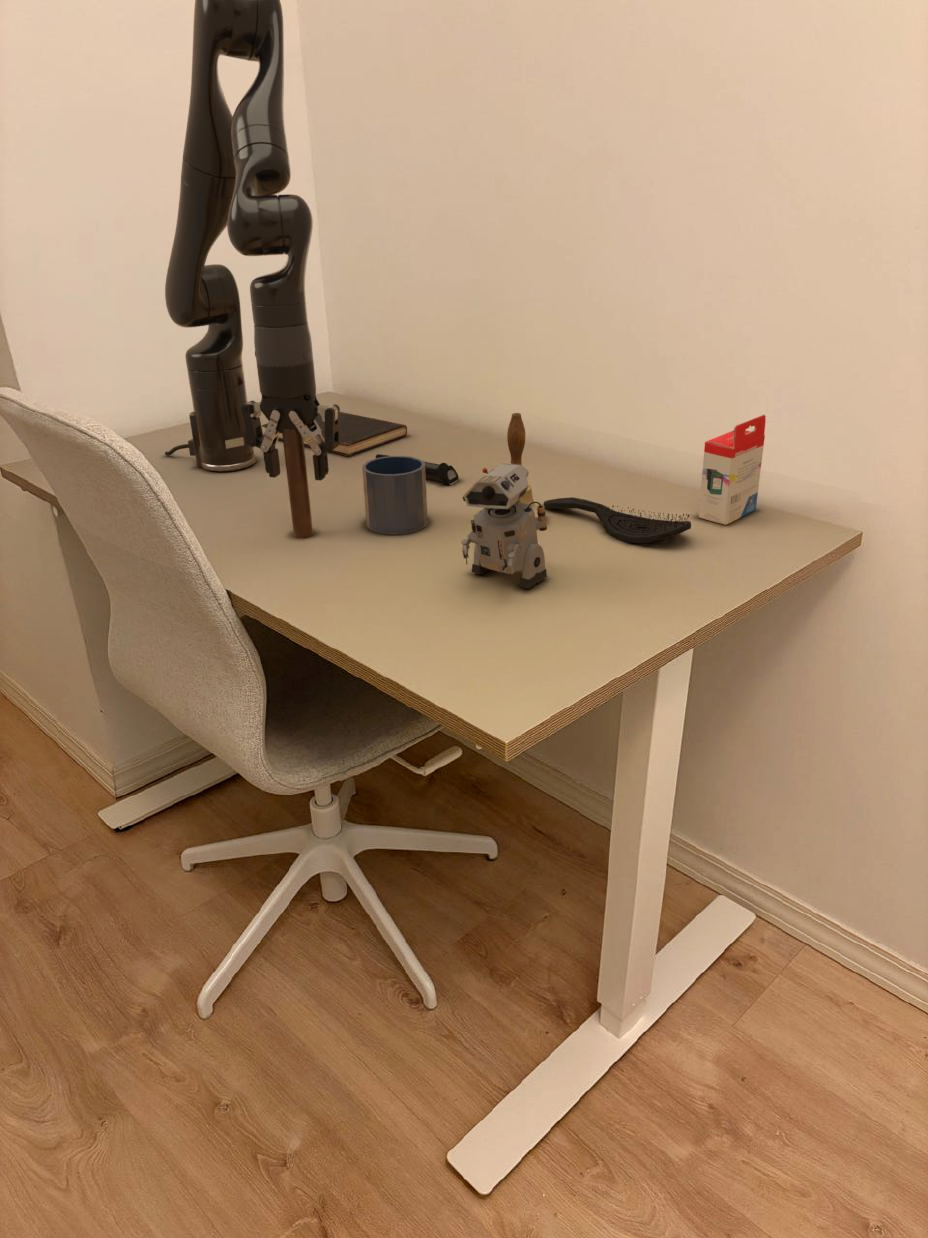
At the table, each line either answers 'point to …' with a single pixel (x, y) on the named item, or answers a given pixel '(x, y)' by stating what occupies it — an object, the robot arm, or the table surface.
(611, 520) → the hairbrush
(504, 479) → the figurine
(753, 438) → the ink box
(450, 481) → the electric trimmer
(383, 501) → the cup
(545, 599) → the table surface
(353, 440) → the hardcover book
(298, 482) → the stick
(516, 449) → the hand bell
